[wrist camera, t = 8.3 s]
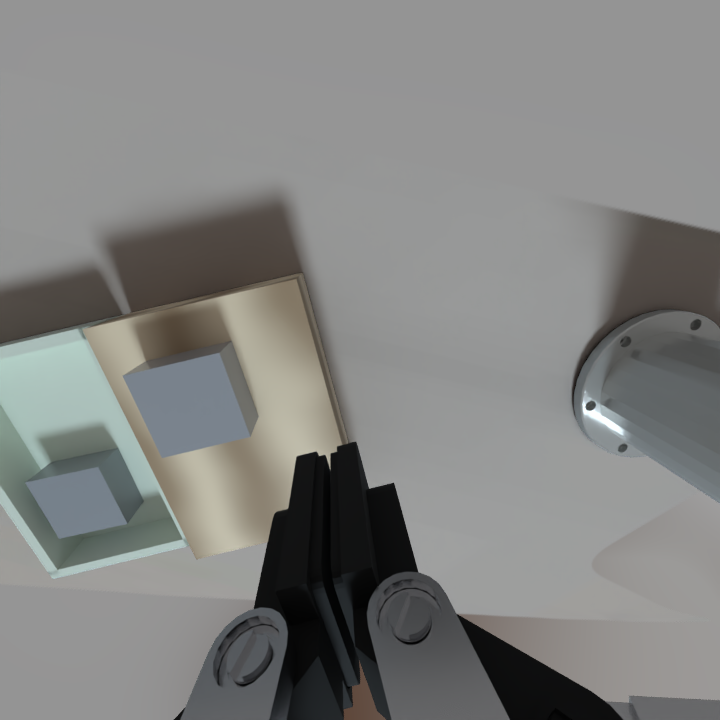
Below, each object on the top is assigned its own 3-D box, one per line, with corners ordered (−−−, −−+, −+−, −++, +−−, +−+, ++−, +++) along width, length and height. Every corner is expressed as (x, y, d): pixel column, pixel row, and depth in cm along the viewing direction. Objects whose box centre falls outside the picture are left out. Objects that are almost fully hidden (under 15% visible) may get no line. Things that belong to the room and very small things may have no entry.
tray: (122, 314, 24) (89, 325, 21) (210, 510, 29) (195, 544, 26) (-34, 351, 24) (-93, 368, 20) (84, 541, 29) (52, 579, 26)
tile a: (24, 482, 24) (51, 461, 26) (59, 538, 25) (81, 514, 28) (97, 467, 24) (117, 447, 26) (127, 523, 26) (143, 501, 28)
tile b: (231, 340, 20) (219, 352, 18) (258, 416, 22) (250, 436, 19) (145, 361, 20) (122, 375, 18) (179, 435, 22) (162, 458, 19)
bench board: (302, 272, 24) (296, 278, 19) (357, 474, 29) (362, 518, 25) (131, 312, 24) (82, 329, 19) (217, 508, 29) (196, 559, 25)
